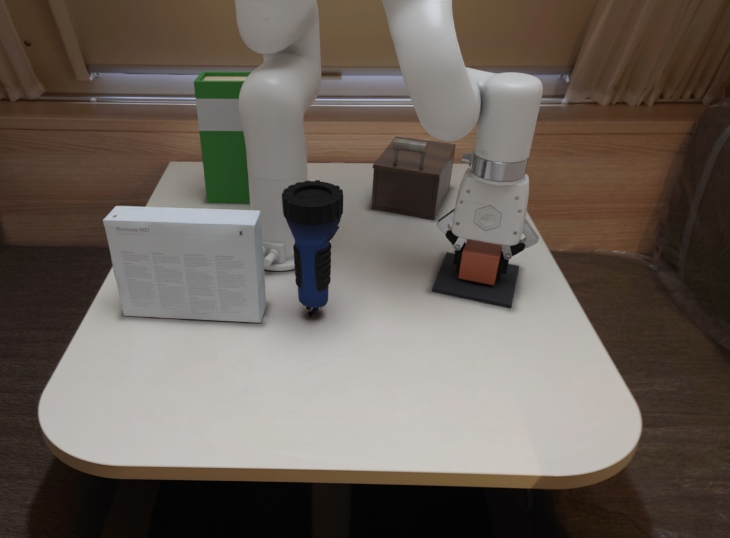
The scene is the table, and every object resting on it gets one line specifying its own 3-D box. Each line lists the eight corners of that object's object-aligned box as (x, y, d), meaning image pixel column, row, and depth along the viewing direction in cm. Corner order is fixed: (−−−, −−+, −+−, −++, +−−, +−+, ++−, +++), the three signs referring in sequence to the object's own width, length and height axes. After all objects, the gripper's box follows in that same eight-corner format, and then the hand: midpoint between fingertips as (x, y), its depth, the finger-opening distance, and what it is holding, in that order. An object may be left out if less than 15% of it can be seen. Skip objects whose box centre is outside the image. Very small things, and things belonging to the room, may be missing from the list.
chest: (434, 219, 110) (439, 176, 105) (371, 208, 114) (373, 167, 110) (449, 188, 122) (455, 148, 117) (391, 179, 126) (395, 140, 121)
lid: (439, 178, 105) (443, 148, 102) (372, 168, 109) (374, 139, 106) (455, 147, 117) (459, 120, 114) (395, 140, 121) (397, 113, 118)
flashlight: (285, 333, 82) (281, 206, 71) (285, 301, 89) (282, 180, 77) (341, 332, 82) (346, 205, 71) (337, 300, 89) (341, 179, 77)
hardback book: (296, 188, 123) (293, 71, 109) (293, 204, 116) (291, 82, 103) (213, 187, 123) (201, 71, 110) (207, 202, 117) (193, 81, 104)
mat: (510, 308, 87) (511, 305, 86) (431, 291, 91) (432, 288, 90) (518, 268, 96) (519, 265, 95) (446, 254, 100) (446, 251, 99)
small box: (494, 285, 89) (499, 257, 87) (458, 278, 91) (462, 251, 88) (498, 267, 94) (504, 241, 91) (464, 261, 95) (468, 234, 93)
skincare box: (267, 302, 88) (262, 209, 79) (261, 324, 84) (255, 227, 75) (134, 295, 90) (114, 203, 81) (121, 316, 86) (99, 221, 77)
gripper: (433, 166, 82) (420, 273, 92) (561, 184, 77) (533, 296, 87) (443, 148, 88) (430, 251, 98) (564, 164, 82) (536, 271, 92)
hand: (478, 271), depth 92 cm, fingers closed on small box, 5 cm apart
